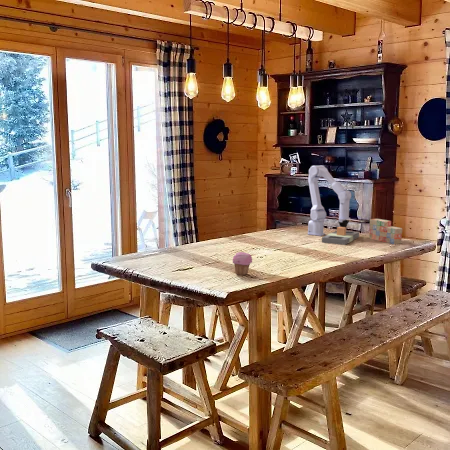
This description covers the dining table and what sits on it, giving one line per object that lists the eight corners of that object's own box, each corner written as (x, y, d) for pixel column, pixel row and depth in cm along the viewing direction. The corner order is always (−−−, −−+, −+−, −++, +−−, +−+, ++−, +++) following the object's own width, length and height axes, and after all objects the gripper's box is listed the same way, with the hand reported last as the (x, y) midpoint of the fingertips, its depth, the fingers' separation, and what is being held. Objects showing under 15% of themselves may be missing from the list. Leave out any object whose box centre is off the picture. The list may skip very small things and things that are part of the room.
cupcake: (235, 271, 245) (235, 249, 244) (253, 272, 243) (254, 251, 241) (229, 275, 237) (230, 253, 235) (249, 277, 235) (249, 254, 233)
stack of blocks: (401, 243, 320) (403, 223, 318) (393, 244, 317) (395, 223, 315) (376, 237, 339) (377, 218, 337) (368, 238, 336) (369, 218, 334)
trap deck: (321, 242, 319) (322, 237, 318) (337, 234, 346) (337, 230, 345) (345, 244, 312) (345, 239, 312) (359, 236, 339) (359, 232, 339)
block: (336, 234, 327) (337, 227, 327) (338, 233, 331) (339, 226, 330) (343, 235, 325) (344, 228, 324) (345, 234, 329) (346, 227, 328)
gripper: (347, 212, 321) (346, 234, 323) (353, 209, 334) (352, 231, 336) (335, 211, 324) (334, 233, 327) (342, 208, 337) (341, 230, 339)
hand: (343, 232), depth 331 cm, fingers closed
